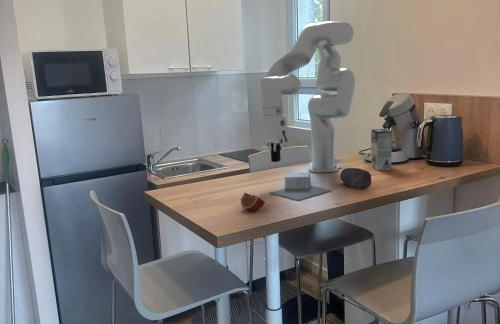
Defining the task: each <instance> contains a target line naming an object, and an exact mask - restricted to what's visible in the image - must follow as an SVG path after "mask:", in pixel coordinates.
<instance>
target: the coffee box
mask: <svg viewBox="0 0 500 324" xmlns="http://www.w3.org/2000/svg"><path fill="white" fill-rule="evenodd" d="M370 135H371V136H370V137H371V139H370V140H371V142H370V143H371V146H370V148H371V150H370V153H371V158H370V159H371V160H370V161H371V163H370V165H371V167H372V168H373V169H375V170H376V171H387V170H388V171H389V170H392V146H393V145H392V142H393V140H392V139H393V131H392V130H389V129H387V128H376V129H374V128H373V129H371V134H370Z"/></svg>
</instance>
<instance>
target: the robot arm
mask: <svg viewBox="0 0 500 324" xmlns="http://www.w3.org/2000/svg"><path fill="white" fill-rule="evenodd" d="M354 33H355V32H354V28H353V26H352V25H351V24H350V23H349V22H347V21H323V22H322V21H321V22H317V23H309V24H307V25H305V26H304V27H303V28H302V30H301V31H300V33H299V36H298V37H297V39H296V41H295V43H294V44H293V46H292V47H291V49H290V50H289V51H288V52H287V53H285V54H284V55H283V56H282V57H280V59H278V60H277V61H275V62H274V63H273V64H272V66H271V67H270V68H269V69H268V72H267V73H266V75H265V77H262V78H260V80H259V86H260V87H259V88H260V100H261V102H260V103H261V113H262V116H261V138H262V141H263V142H264V143H263V144H264V145H266V146H267V147H268V150H269V152H270V161H271V162H272V163H277V162H280V161H281V151H282V148H283V147H284V148H285V147H286V146H287V144H286V143H287V142H289V140H290V139H289V138H290V137H289V130H288V129H289V128H288V124H287V118H286V115H285V114H284V111H285V110H284V105H283V103H284V102H283V96H293V95H296V94H297V93H298V92H299V91H300V88H301V85H302V84H301V80H300V78H299V77H298V76H297V75H295V74H291V73H293V72H295V71H297V70H300V69H302V68H303V67H306V66H307V65H309V64H310V62H311V60H312V59H313V57H314V55H315V53H316V51H317V50H318V53H319V57H320V59H319V65H318V72H317V77H316V84H315V85H316V86H315V87H316V89H317V91H318V92H320V93H336V94H317V95H313V96H312V97H311V98H310V99H309V100H308V103H307V110H308V113H309V119H310V130H311V131H310V132H311V133H310V134H311V136H310V138H311V141H310V142H311V165H310V166H308V171H309V172H310V173H317V174H327V173H334V172H338V171H339V168H340V167H339V166H337V164H340V163H342V161H343V160H342V158H336V156H335V155H336V152H335V150H336V149H335V127H334V124H333V122H332V120H331V119H345V118H346V117H347V116H348V115H349V114H350V111H351V106H352V102H353V97H354V91H355V83H356V81H355V80H356V79H355V74H354V72H353V71H352V70H351V69H350V68H346V67H344V68H341V63H342V57H341V55H340V52H338V50H337V48H336V46H343V45H349V43H350V42H351V41H352V40H353V39H354Z"/></svg>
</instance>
